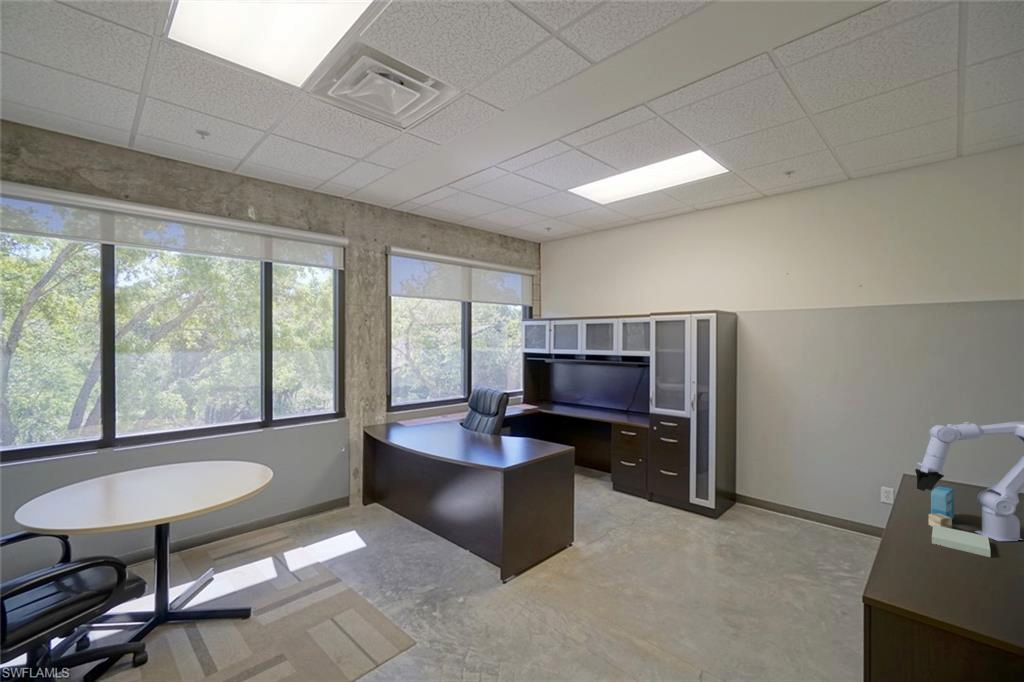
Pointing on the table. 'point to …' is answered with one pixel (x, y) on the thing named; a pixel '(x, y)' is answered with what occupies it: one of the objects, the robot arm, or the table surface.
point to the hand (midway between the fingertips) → (924, 489)
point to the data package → (942, 501)
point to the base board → (961, 540)
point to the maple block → (940, 520)
